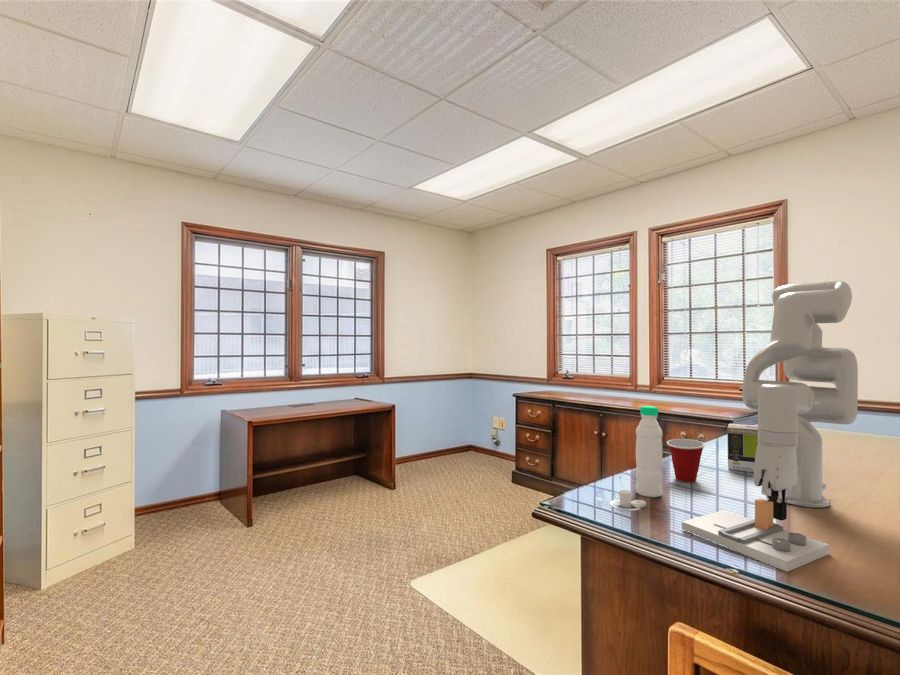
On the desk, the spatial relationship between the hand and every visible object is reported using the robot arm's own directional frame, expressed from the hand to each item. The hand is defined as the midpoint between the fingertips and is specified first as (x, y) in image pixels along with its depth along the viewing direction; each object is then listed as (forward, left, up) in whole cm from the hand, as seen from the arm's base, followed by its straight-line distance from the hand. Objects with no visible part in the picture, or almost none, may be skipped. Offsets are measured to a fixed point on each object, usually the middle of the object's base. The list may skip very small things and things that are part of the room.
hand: (777, 517), depth 108 cm
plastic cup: (-19, -36, -4) cm, 41 cm away
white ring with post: (+17, -26, -4) cm, 31 cm away
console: (+10, 0, -3) cm, 11 cm away
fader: (+5, 0, -1) cm, 5 cm away
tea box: (-51, -33, -4) cm, 61 cm away
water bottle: (+3, -32, -4) cm, 32 cm away
